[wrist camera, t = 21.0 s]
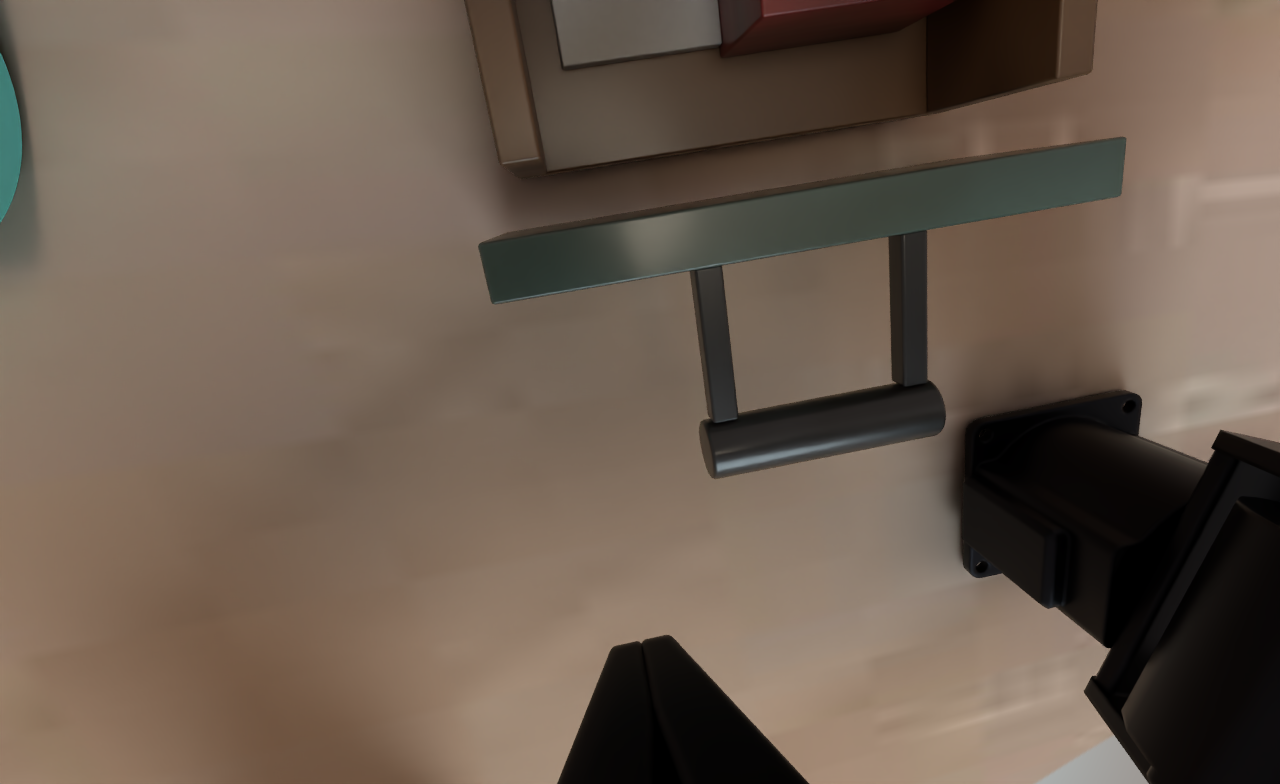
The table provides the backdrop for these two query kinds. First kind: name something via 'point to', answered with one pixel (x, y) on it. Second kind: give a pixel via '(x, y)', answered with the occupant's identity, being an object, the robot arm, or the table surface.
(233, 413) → the table surface
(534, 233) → the drawer
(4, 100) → the decorative dice
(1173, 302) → the table surface
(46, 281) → the table surface
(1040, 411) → the robot arm
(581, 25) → the red usb flash drive
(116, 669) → the table surface
